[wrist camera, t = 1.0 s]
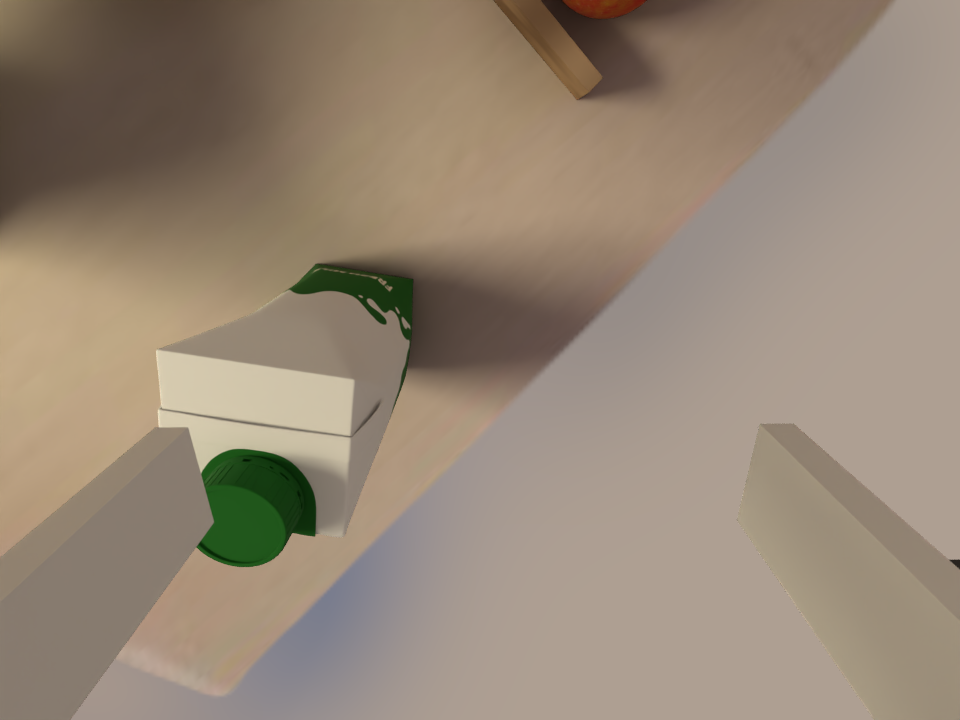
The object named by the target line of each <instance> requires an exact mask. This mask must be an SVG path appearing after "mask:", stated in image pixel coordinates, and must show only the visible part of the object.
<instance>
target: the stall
mask: <svg viewBox="0 0 960 720" xmlns="http://www.w3.org/2000/svg"><path fill="white" fill-rule="evenodd" d="M494 1H495V3H496V4H497V5H498V6H499V7H500V9H501V10H502V11H503V12H504V13H505V15H506V16H507V17H508V18H509V19H510V21H511V22H512V23H513V24H514V25H515V26H516V28H517V29H518V30H519V31H520V32H521V34H522V35H523V36H524V37H525V38H526V40H527V41H528V42H529V43H530V44H531V46H532V47H533V48H534V49H535V50H536V52H537V53H538V54H539V55H540V56H541V57H542V59H543V60H544V61H545V62H546V63H547V65H548V66H549V67H550V68H551V69H552V71H553V72H554V73H555V74H556V75H557V77H558V78H559V79H560V80H561V81H562V83H563V84H564V85H565V86H566V87H567V88H568V90H569V91H570V92H571V93H572V94H573V96H574V97H575V98H576V99H577V100H578V99H580V98H581V97H583V96H584V95H586V94H587V93H589V92H590V91H591V90H592V89H593V88H594V87H595V86H596V85H597V84H598V82H599V81H600V80H601V79H602V78H603V77H602V76H601V74H600V73H599V72H598V71H597V69H596V68H595V67H594V66H593V64H592V63H591V62H590V61H589V60H588V58H587V57H586V56H585V55H584V53H583V52H582V51H581V50H580V48H579V47H578V46H577V45H576V44H575V42H574V41H573V40H572V39H571V37H570V36H569V35H568V34H567V32H566V31H565V30H564V29H563V27H562V26H561V25H560V24H559V23H558V21H557V20H556V19H555V18H554V16H553V15H552V14H551V13H550V11H549V10H548V9H547V8H546V6H545V5H544V4H543V3H542V2H541V0H494Z"/></svg>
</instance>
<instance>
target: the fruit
mask: <svg viewBox="0 0 960 720" xmlns="http://www.w3.org/2000/svg"><path fill="white" fill-rule="evenodd" d="M562 1H563V2H564V3H565V4H566V5H567V6H568V7H569V8H570V9H572V10H574V11H575V12H577V13H579V14H581V15H584V16H586V17H590V18H595V19H609V18H614V17H619V16H621V15H624V14H627V13H629V12H631V11H633V10H634V9H636V8H638V7H639V6H641V5H642V4H643V3H645V2H646V1H647V0H562Z"/></svg>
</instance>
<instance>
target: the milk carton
mask: <svg viewBox="0 0 960 720" xmlns="http://www.w3.org/2000/svg"><path fill="white" fill-rule="evenodd" d="M412 298H413V279H409V278H402V277H396V276H390V275H384V274H378V273H372V272H365V271H359V270H353V269H347V268H341V267H334V266H328V265H322V264H315V266H314V267H313V268H312V269H311V270H310V271H309V272H308V273H307V274H306V275H305V276H304V277H303V278H302V279H301V280H300V281H299V282H298V283H297V284H295V285H294V286H292V287H291V288H289V289H288V290H286V291H285V292H283V293H282V294H280V295H279V296H277V297H276V298H274V299H273V300H271V301H270V302H268V303H267V304H265V305H264V306H262V307H261V308H259V309H258V310H256V311H254V312H253V313H251V314H249V315H247V316H245V317H242V318H240V319H237V320H234V321H232V322H229V323H227V324H224V325H221V326H219V327H216V328H214V329H211V330H208V331H206V332H203V333H201V334H198V335H195V336H193V337H190V338H187V339H185V340H182V341H179V342H176V343H174V344H171V345H168V346H165V347H163V348H160V349H157V350H156V355H157V366H158V376H159V386H160V396H161V406H160V408H159V409H158V422H159V427H188V428H189V432H190V436H191V439H192V443H193V447H194V450H195V454H196V458H197V461H198V465H199V469H200V472H201V476H202V480H203V483H204V487H205V490H206V494H207V498H208V501H209V505H210V509H211V512H212V516H213V520H214V523H213V525H212V526H211V527H210V529H209V530H208V531H207V533H206V534H205V536H204V537H203V538H202V540H201V541H200V542H199V544H198V545H197V548H198V549H199V550H200V551H201V552H202V553H204V554H205V555H207V556H208V557H210V558H212V559H214V560H216V561H218V562H221V563H223V564H227V565H231V566H237V567H253V566H258V565H262V564H265V563H267V562H269V561H271V560H272V559H274V558H275V557H276V556H278V555H279V553H280V552H281V551H282V550H283V548H284V547H285V545H286V543H287V541H288V540H289V538H290V536H291V534H292V533H297V534H301V535H307V536H315V534H320V535H326V536H331V537H344V536H345V534H346V531H347V528H348V525H349V522H350V519H351V517H352V514H353V511H354V509H355V506H356V504H357V501H358V499H359V496H360V493H361V491H362V488H363V486H364V483H365V481H366V478H367V475H368V473H369V470H370V468H371V465H372V463H373V460H374V458H375V455H376V453H377V450H378V448H379V445H380V443H381V440H382V438H383V435H384V433H385V430H386V427H387V425H388V422H389V420H390V417H391V414H392V412H393V409H394V406H395V404H396V401H397V398H398V396H399V393H400V391H401V388H402V385H403V382H404V379H405V376H406V371H407V365H408V359H409V352H410V345H411V335H412Z"/></svg>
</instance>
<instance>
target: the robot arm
mask: <svg viewBox="0 0 960 720" xmlns="http://www.w3.org/2000/svg"><path fill="white" fill-rule="evenodd" d="M737 521H738V523H739V524H740V525H741V527H742V528H743V529H744V531H745V533H746V534H747V536H748V537H749V538H750V540H751V541H752V543H753V544H754V546H755V547H756V549H757V550H758V552H759V553H760V555H761V556H762V557H763V559H764V560H765V562H766V563H767V565H768V566H769V568H770V569H771V571H772V572H773V573H774V575H775V576H776V578H777V579H778V581H779V582H780V584H781V585H782V587H783V588H784V590H785V591H786V592H787V594H788V595H789V597H790V598H791V600H792V601H793V602H794V604H795V605H796V607H797V608H798V610H799V611H800V613H801V614H802V616H803V617H804V619H805V620H806V622H807V623H808V624H809V626H810V627H811V629H812V630H813V631H814V633H815V635H816V636H817V637H818V639H819V640H820V642H821V643H822V645H823V646H824V648H825V649H826V650H827V652H828V654H829V655H830V656H831V658H832V659H833V661H834V662H835V664H836V665H837V666H838V668H839V670H840V671H841V672H842V674H843V675H844V677H845V678H846V680H847V681H848V683H849V684H850V685H851V687H852V688H853V690H854V691H855V693H856V694H857V696H858V697H859V699H860V700H861V701H862V703H863V704H864V706H865V707H866V709H867V710H868V712H869V713H870V715H871V716H872V718H873V719H874V720H960V560H948V559H947V558H946V557H945V556H944V555H943V554H942V553H940V552H939V551H938V550H937V549H936V548H934V547H933V546H932V545H931V544H930V543H929V542H928V541H927V540H925V539H924V538H923V537H922V536H921V535H920V534H919V533H917V532H916V531H915V530H914V529H913V528H912V527H911V526H910V525H908V524H907V523H906V522H905V521H904V520H903V519H901V518H900V517H899V516H898V515H897V514H896V513H895V512H894V511H892V510H891V509H890V508H889V507H888V506H887V505H885V503H883V502H882V501H881V500H880V499H879V498H878V497H876V496H875V495H874V494H873V493H872V492H871V491H870V490H868V489H867V488H866V487H865V486H864V485H863V484H862V483H861V482H859V481H858V480H857V479H856V478H855V477H854V476H853V475H851V474H850V473H849V472H848V471H847V470H845V469H844V468H843V467H842V466H841V465H840V464H839V463H838V462H837V461H835V460H834V459H833V458H832V457H831V456H830V455H829V454H827V453H826V452H825V451H824V450H823V449H822V448H821V447H820V446H818V445H817V444H816V443H815V442H814V441H813V440H812V439H810V438H809V437H808V436H807V435H806V434H805V433H804V432H802V431H801V430H800V429H799V428H798V427H797V426H796V425H794V424H760V425H759V429H758V434H757V438H756V442H755V446H754V451H753V455H752V459H751V463H750V468H749V471H748V476H747V480H746V484H745V488H744V493H743V497H742V501H741V506H740V510H739V514H738V518H737ZM213 523H214V520H213V516H212V512H211V509H210V505H209V501H208V498H207V494H206V490H205V487H204V483H203V480H202V476H201V472H200V469H199V465H198V461H197V458H196V454H195V450H194V447H193V443H192V439H191V436H190V432H189V428H188V427H155V428H154V429H153V430H152V431H151V432H149V433H148V434H147V435H146V436H145V437H143V438H142V439H141V440H140V441H139V442H137V443H136V444H135V445H134V446H133V447H131V448H130V449H129V450H128V451H127V452H125V453H124V454H123V455H122V456H121V457H119V458H118V459H117V460H116V461H115V462H114V463H112V464H111V465H110V466H109V467H108V468H106V469H105V470H104V471H103V472H102V473H100V474H99V475H98V476H97V477H96V478H94V479H93V480H92V481H91V482H90V483H88V484H87V485H86V486H85V487H84V488H83V489H81V490H80V491H79V492H78V493H77V494H75V495H74V496H73V497H72V498H71V499H69V500H68V501H67V502H66V503H65V504H63V505H62V506H61V507H60V508H59V509H57V510H56V511H55V512H54V513H53V514H51V515H50V516H49V517H48V518H47V519H46V520H44V521H43V522H42V523H41V524H40V525H38V526H37V527H36V528H35V529H34V530H32V531H31V532H30V533H29V534H28V535H26V536H25V537H24V538H23V539H22V540H20V541H19V542H18V543H17V544H16V545H15V546H13V547H12V548H11V549H10V550H9V551H7V552H6V553H5V554H4V555H3V556H1V557H0V720H71V718H72V717H73V715H74V714H75V713H76V711H77V710H78V709H79V707H80V706H81V704H82V703H83V702H84V700H85V699H86V698H87V696H88V694H89V693H90V692H91V691H92V689H93V688H94V687H95V685H96V684H97V683H98V681H99V680H100V678H101V677H102V676H103V674H104V673H105V672H106V670H107V669H108V667H109V666H110V665H111V663H112V662H113V661H114V659H115V658H116V656H117V655H118V654H119V652H120V651H121V650H122V648H123V647H124V645H125V644H126V643H127V641H128V640H129V639H130V637H131V636H132V634H133V633H134V632H135V630H136V629H137V628H138V626H139V625H140V623H141V622H142V621H143V619H144V618H145V617H146V615H147V614H148V612H149V611H150V610H151V608H152V607H153V606H154V604H155V603H156V602H157V600H158V599H159V597H160V596H161V595H162V593H163V592H164V591H165V589H166V588H167V586H168V585H169V584H170V582H171V581H172V580H173V578H174V577H175V575H176V574H177V573H178V571H179V570H180V569H181V567H182V566H183V564H184V563H185V562H186V560H187V559H188V558H189V556H190V555H191V553H192V552H193V551H194V549H195V548H196V547H197V545H198V544H199V542H200V541H201V540H202V538H203V537H204V536H205V534H206V533H207V531H208V530H209V529H210V527H211V526H212V525H213Z"/></svg>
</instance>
